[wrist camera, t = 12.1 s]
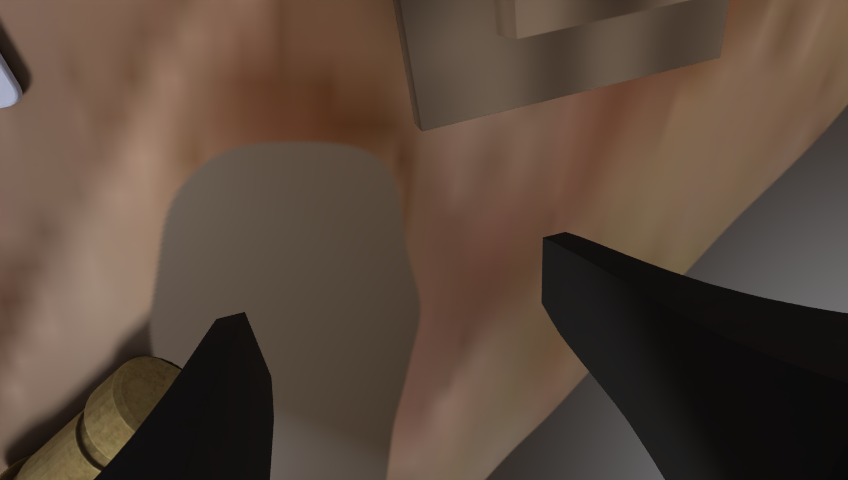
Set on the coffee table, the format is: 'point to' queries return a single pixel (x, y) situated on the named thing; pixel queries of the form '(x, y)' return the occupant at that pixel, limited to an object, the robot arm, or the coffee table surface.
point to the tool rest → (542, 49)
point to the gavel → (100, 424)
